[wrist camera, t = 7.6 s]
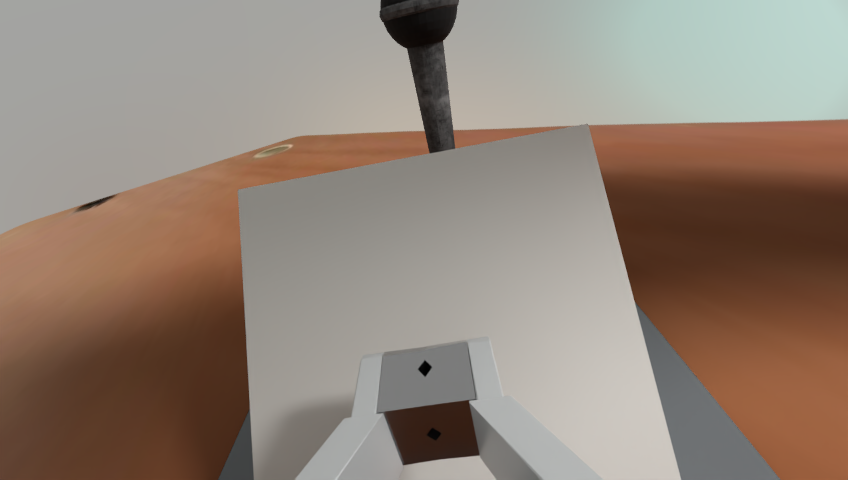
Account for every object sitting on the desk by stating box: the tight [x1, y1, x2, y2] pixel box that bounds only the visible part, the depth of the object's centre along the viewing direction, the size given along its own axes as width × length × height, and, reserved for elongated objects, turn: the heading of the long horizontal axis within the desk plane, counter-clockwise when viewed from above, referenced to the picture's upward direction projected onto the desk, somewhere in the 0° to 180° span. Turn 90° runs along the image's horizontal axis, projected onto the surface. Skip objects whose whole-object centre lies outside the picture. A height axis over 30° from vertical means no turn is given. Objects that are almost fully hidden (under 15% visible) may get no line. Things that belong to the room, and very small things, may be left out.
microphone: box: [380, 0, 459, 153], centre depth 35 cm, size 7×7×20 cm
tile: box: [238, 124, 681, 480], centre depth 12 cm, size 2×12×12 cm
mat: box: [218, 301, 780, 480], centre depth 16 cm, size 18×20×1 cm
